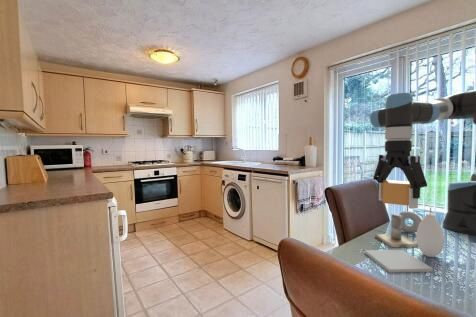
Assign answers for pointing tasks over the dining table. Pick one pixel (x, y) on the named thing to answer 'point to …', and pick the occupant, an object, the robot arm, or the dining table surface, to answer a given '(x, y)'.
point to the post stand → (396, 234)
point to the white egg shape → (430, 236)
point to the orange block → (396, 192)
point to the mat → (398, 261)
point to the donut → (414, 218)
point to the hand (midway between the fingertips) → (396, 204)
